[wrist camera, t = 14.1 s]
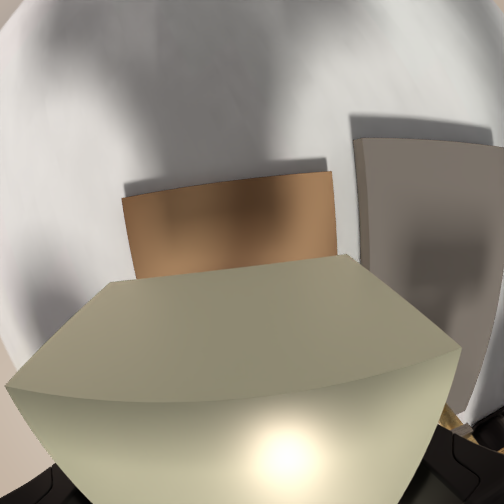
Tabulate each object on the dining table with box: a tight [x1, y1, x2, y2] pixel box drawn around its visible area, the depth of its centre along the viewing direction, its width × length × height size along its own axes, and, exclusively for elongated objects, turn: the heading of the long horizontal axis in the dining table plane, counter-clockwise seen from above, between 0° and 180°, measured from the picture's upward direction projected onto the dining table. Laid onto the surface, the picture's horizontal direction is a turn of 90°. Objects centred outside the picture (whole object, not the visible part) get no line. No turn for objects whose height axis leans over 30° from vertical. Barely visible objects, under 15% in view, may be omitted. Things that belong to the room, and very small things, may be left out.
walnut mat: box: [121, 171, 337, 279], centre depth 15 cm, size 10×12×1 cm
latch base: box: [353, 138, 504, 415], centre depth 16 cm, size 11×21×1 cm, turn 7°
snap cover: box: [5, 254, 462, 504], centre depth 6 cm, size 6×8×4 cm
